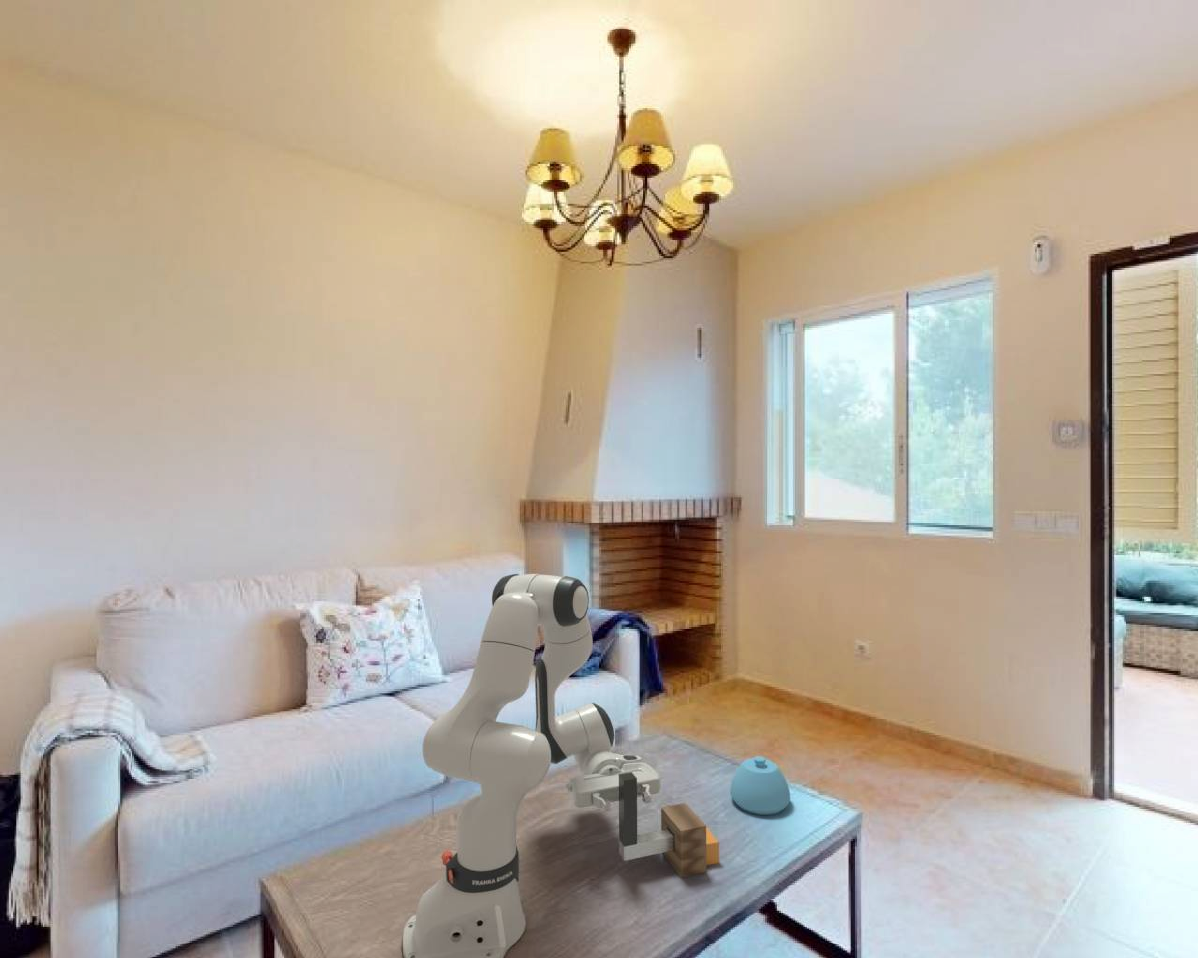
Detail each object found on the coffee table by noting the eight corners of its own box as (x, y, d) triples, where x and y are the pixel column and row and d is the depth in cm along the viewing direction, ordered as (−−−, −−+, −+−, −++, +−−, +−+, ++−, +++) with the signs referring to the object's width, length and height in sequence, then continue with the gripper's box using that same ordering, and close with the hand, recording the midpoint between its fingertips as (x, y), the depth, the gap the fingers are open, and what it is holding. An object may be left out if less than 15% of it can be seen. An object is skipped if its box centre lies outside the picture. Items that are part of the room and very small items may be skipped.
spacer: (702, 865, 140) (702, 844, 140) (690, 849, 146) (690, 829, 146) (719, 862, 141) (719, 842, 141) (707, 846, 147) (706, 826, 147)
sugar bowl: (799, 800, 167) (799, 755, 167) (774, 824, 156) (774, 777, 155) (746, 782, 177) (746, 740, 177) (719, 804, 165) (719, 759, 165)
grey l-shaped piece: (624, 860, 135) (623, 780, 135) (619, 852, 138) (618, 774, 138) (692, 845, 140) (692, 768, 140) (686, 838, 143) (685, 762, 143)
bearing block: (681, 877, 136) (680, 830, 135) (661, 851, 145) (661, 807, 145) (706, 871, 138) (706, 825, 137) (685, 846, 147) (685, 802, 147)
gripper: (563, 768, 147) (581, 797, 134) (645, 754, 153) (670, 780, 140) (563, 795, 147) (581, 827, 134) (646, 780, 153) (670, 809, 140)
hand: (628, 803), depth 137 cm, fingers open, 8 cm apart
